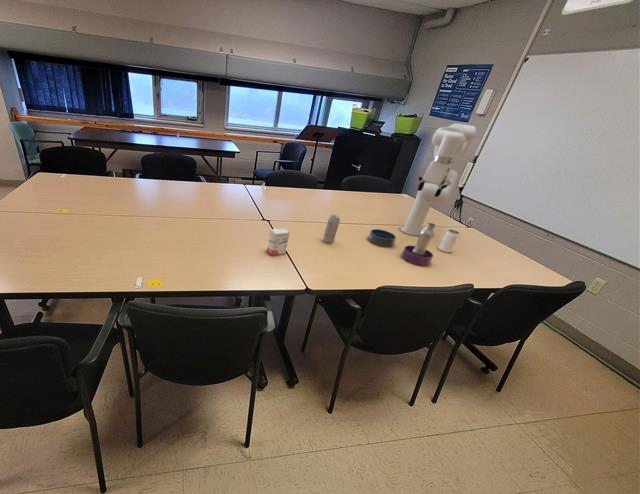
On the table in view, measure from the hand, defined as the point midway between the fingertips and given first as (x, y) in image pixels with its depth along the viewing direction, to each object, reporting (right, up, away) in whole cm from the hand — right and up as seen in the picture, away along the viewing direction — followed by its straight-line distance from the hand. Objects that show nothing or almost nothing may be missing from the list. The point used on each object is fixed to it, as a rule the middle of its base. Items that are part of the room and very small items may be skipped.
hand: (427, 193), depth 168 cm
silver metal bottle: (-5, -35, +3) cm, 35 cm away
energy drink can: (-51, -25, +10) cm, 57 cm away
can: (+21, -28, +20) cm, 41 cm away
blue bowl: (-17, -23, +19) cm, 35 cm away
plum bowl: (-5, -35, +3) cm, 36 cm away
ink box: (-82, -33, -9) cm, 89 cm away
